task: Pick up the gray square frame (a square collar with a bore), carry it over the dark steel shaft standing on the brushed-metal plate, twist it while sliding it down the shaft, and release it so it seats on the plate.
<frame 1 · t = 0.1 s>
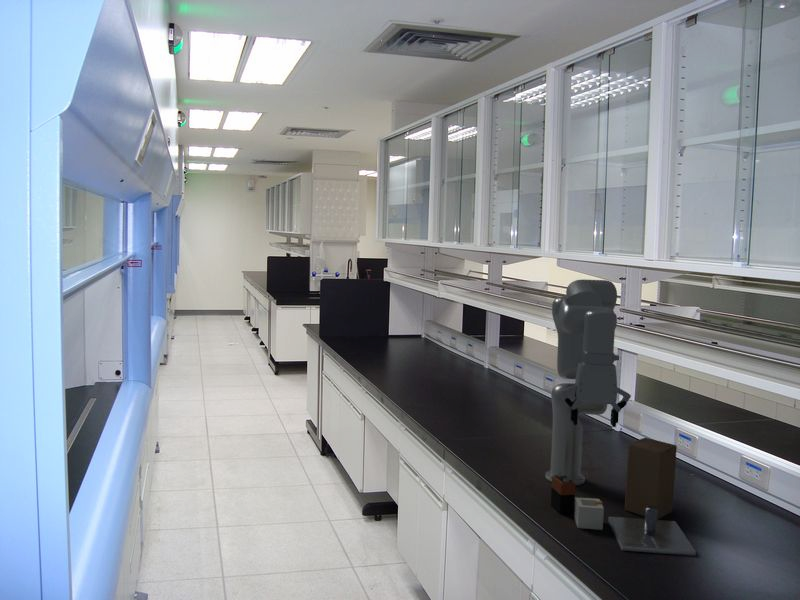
hand: (593, 424, 176), 31 cm above the lab bench, fingers open, 9 cm apart
gray square frame: (588, 523, 190), on the lab bench
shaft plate: (649, 537, 183), on the lab bench
battery: (561, 509, 200), on the lab bench
wooden block: (648, 511, 200), on the lab bench
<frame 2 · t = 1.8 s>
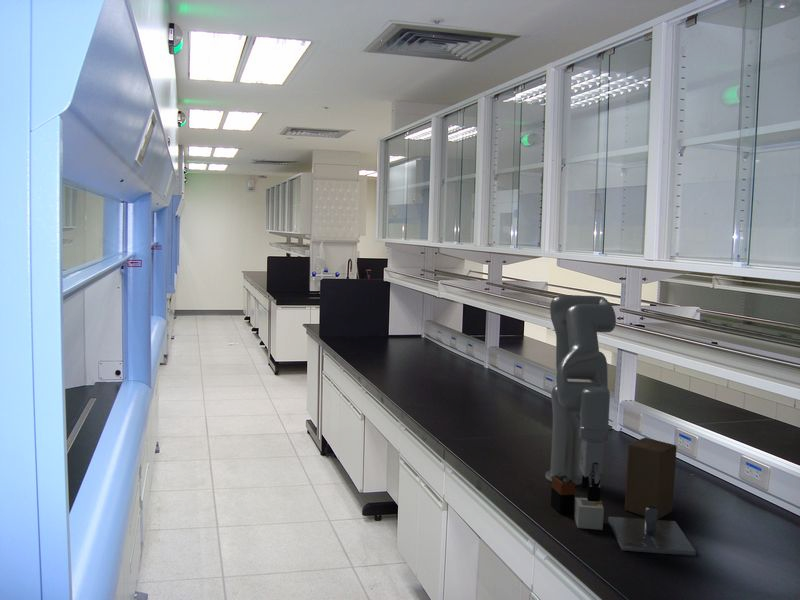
hand: (590, 494, 188), 9 cm above the lab bench, fingers open, 9 cm apart
nothing on the lab bench moved.
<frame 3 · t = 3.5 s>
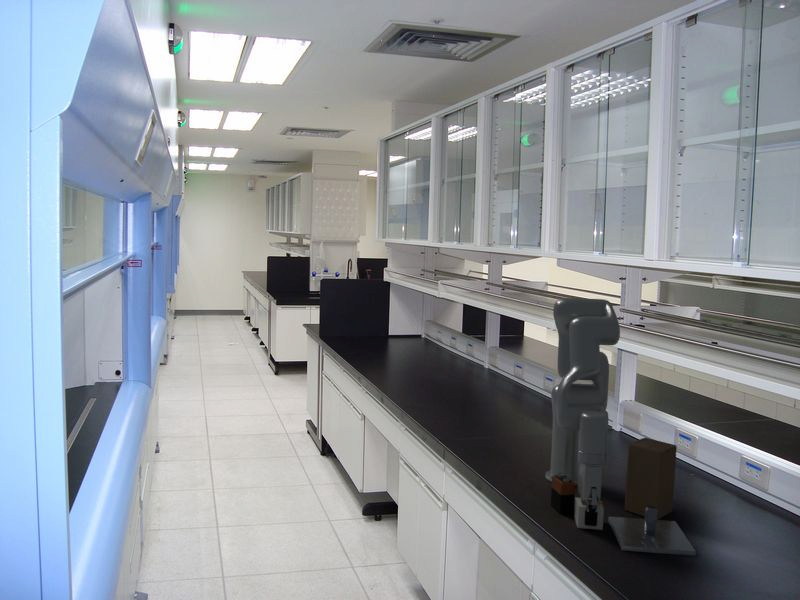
hand: (588, 519, 190), 1 cm above the lab bench, fingers closed on gray square frame, 6 cm apart
gray square frame: (588, 523, 190), on the lab bench, touching gripper
everything else where it was.
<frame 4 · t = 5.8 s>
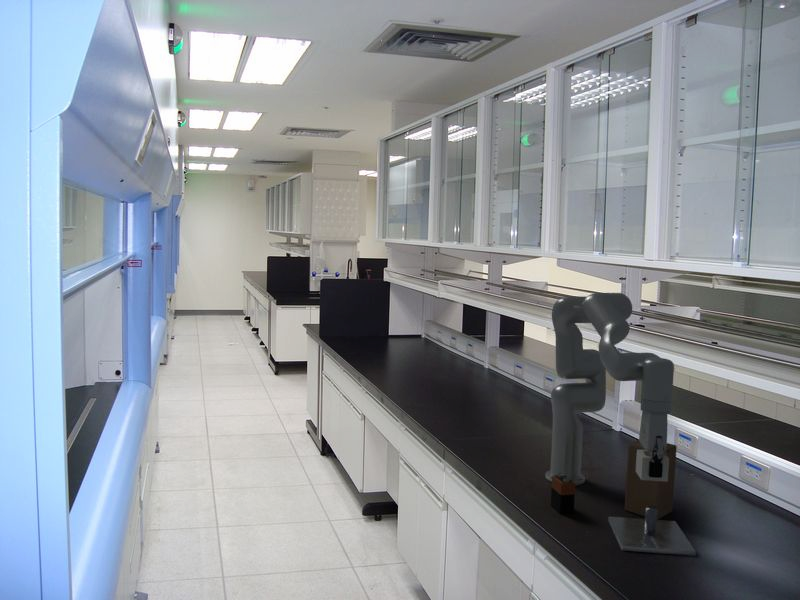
hand: (651, 471, 181), 18 cm above the lab bench, fingers closed on gray square frame, 6 cm apart
gray square frame: (651, 476, 181), point 17 cm above the lab bench, touching gripper
everything else where it was.
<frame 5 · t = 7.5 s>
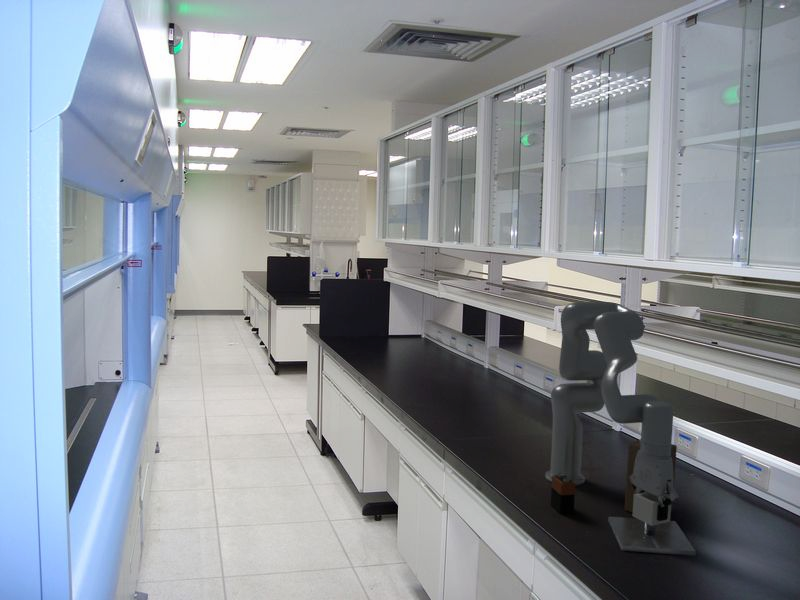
hand: (651, 514, 182), 6 cm above the lab bench, fingers closed on gray square frame, 6 cm apart
gray square frame: (651, 518, 182), point 5 cm above the lab bench, touching gripper
everything else where it was.
when the fingers open (5 cm above the lab bench, at t = 8.6 s): gray square frame drops 3 cm, resting on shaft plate.
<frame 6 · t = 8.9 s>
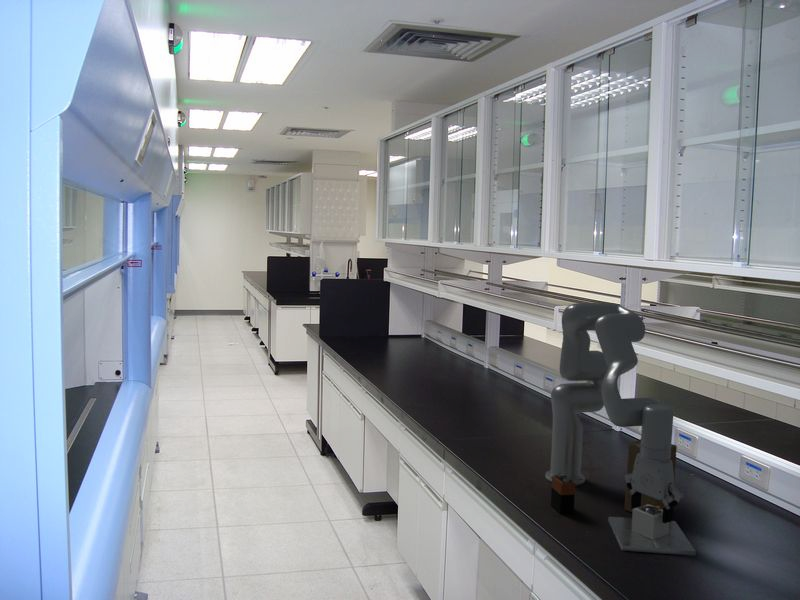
hand: (651, 515, 182), 6 cm above the lab bench, fingers open, 9 cm apart
gray square frame: (649, 532, 183), point 1 cm above the lab bench, touching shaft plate
everything else where it was.
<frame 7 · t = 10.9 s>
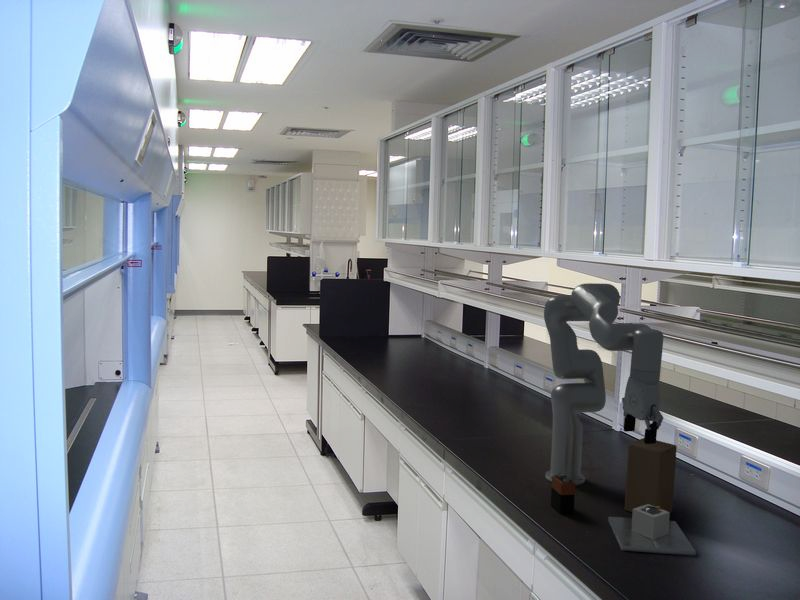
hand: (639, 437, 185), 26 cm above the lab bench, fingers open, 9 cm apart
nothing on the lab bench moved.
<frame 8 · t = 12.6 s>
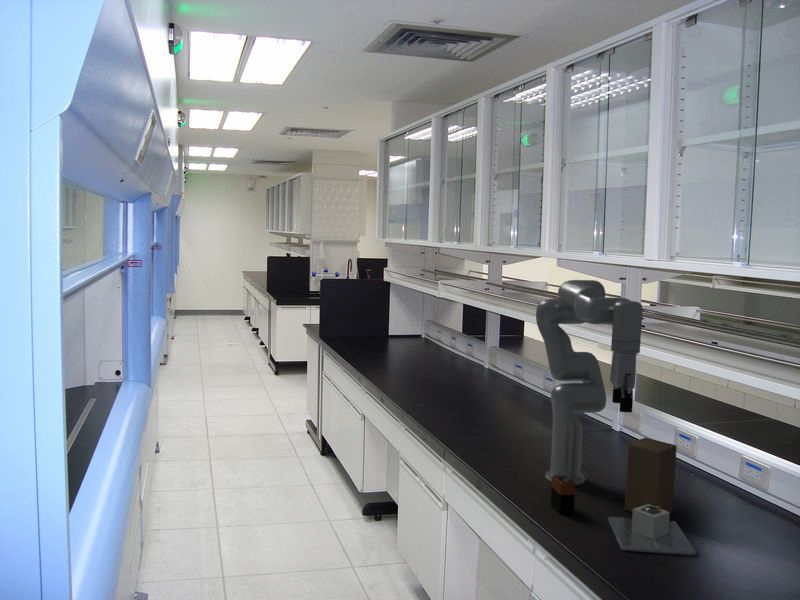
hand: (621, 407, 190), 32 cm above the lab bench, fingers open, 9 cm apart
nothing on the lab bench moved.
at the end: gray square frame 0.1 cm off-centre on the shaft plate, point 1.3 cm above the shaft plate's base; gray square frame tilted 1°; the gripper is holding nothing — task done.
